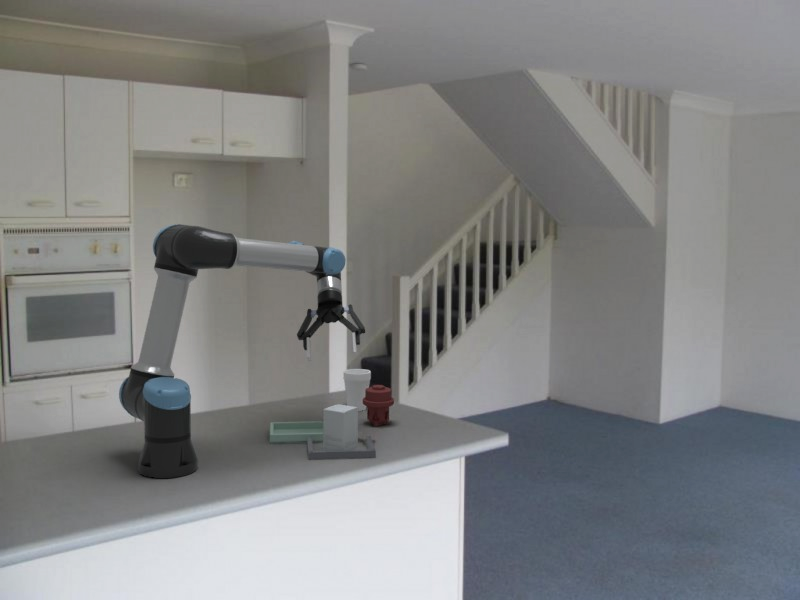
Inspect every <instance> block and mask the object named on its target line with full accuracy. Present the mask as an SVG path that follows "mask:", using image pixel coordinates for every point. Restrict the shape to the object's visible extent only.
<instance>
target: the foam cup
mask: <svg viewBox="0 0 800 600" xmlns="http://www.w3.org/2000/svg"><path fill="white" fill-rule="evenodd" d="M343 380H344V381H343V382H344V389H345V390H344V391H345V398H346V399H345V400H346V404H347V405H346V406H353V407H358V412H361V411H362V410H363V411H367V406H365V405H364V404H363V398H364V397H365V389H367V388H369V387H370V384H371V380H372V372H371V370H370V369H363V368H350V369H349V368H348V369H345V370H343Z"/></svg>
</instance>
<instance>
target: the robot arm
mask: <svg viewBox="0 0 800 600" xmlns="http://www.w3.org/2000/svg"><path fill="white" fill-rule="evenodd" d="M152 251H153V255H154V257H155V262H154V267H153V270H154V272H155V273H156V275H157V280H156V284H155V289H154V291H153V297H152V300H151V305H150V310H149V315H148V319H147V323H146V327H145V332H144V337H143V341H142V345H141V349H140V354H139V358H138V361H137V362H135V363H134V364H133V365H131V367H130V370H129V374H128V377H126V378H125V379H123V381H122V383H121V385H120V387H119V391H118V399H119V402H120V404H121V407H122V408H123V409H124V410H125V411H126V413H128V414H129V415H130V416H131V417H134V418H136V419H139V420H140V421H142V422H143V425H144V427H143V429H144V433H143V434H144V443H143V446H142V449H141V452H140V453H141V454H139V458H138V462H137V472H138V474H139V473H140V474H139V475H141V474H142V475H141V476H143V475H144V476H143V477H146V476H148V477H147V478H151V477H154V478H153V479H171V478H179V477H184V476H187V475H190V474H192V472H193V473H195V472H196V471H197V470H198V469H199V458H198V455H197V453H196V450H195V447H194V444H193V442H192V438H191V437H192V433H191V432H192V431H191V430H192V429H191V428H192V427H191V425H192V424H191V423H192V422H191V419H192V418H191V415H192V413H191V408H192V407H191V402H192V401H191V400H192V395H191V389H190V385H189V384H188V382H186V381H185V380H183V379H181V378H179V377H178V378H177V377H176V378H174V377H175V373H174V372H173V369H172V368H171V366H172V361H173V357H174V353H175V348H176V344H177V340H178V335H179V332H180V326H181V322H182V318H183V313H184V309H185V304H186V301H187V296H188V291H189V287H190V283H191V282H192V281H195V279H197V276H198V273H199V270H209V269H210V270H213V269H225V270H229V269H231V270H232V268H233V267H234V266H235V267H248V268H259V269H270V270H271V269H273V270H285V271H296V272H305V273H307V274H310V275H312V276H314V277H316V290H317V291H316V295H317V309H316V310H312V309H311V308H308V309H307V311H306V316H305V318H304V320H303V322H302V323H301V325H300V326H299V328H298V332H297V333H296V337H297V339H298V340H299V341H302V342H303V343H302V345H303V350H304V351H306V358H307V360H308V362H311V361H312V341H311V338H312V337H313V335H314V334H315V333H316V332H317V331H318V329H320V327H321V326H323V325H324V324H331V323H333V324H334V323H337V322H339V323H340V324H343V326H345V327H346V328H347V329H348V330H349V331H350V332H351V333H352V348H353V349H352V351H353V352H352V353H353V356H354V357H358V347H357V346H359V345H360V344H361V335H362V334H365V333H366V332H367V331H366V328H365V326H364V324H363V323H362V321H361V320H360V318H359V317H358V315H357V314H356V313H355V311H354V306H353V304H352V303H351V304H348V306H344V305H343V295H342V294H343V291H342V290H343V288H342V271H343V270H344V268H345V266H346V255H345V254H344V252H343V251H342V250H341V249H339V248H335V247H324V246H317V245H316V246H314V245H306V244H304V243H303V242H298V241H297V240H292V241H290V242H289V243H288V242H280V241H279V242H277V241H269V240H262V239H261V240H260V239H252V238H244V237H242V238H241V237H237V236H236V235H235V234H234V233H231V232H225V231H224V232H223V231H219V230H214V229H210V228H207V227H204V226H199V225H198V226H197V225H189V224H187V225H186V224H181V223H177V224H175V223H174V224H172V225H171V224H170V225H168V226H165V227H164V228H162V229H160V231H158V232H157V234H156V236H155V237H154V239H153V243H152ZM344 313H347V314H348V315H350V318H351V319H352V320H353V322H354V323H355V325H356V326H355V325H354V324H353V323H352V322H351V321H350V320H348V319H347V318H346V317H345V316H344ZM315 316H317V317H316V319H315V320H314V322H313V323H312V319H314V317H315ZM311 323H312V324H311ZM309 326H310V327H309Z"/></svg>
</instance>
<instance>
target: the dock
mask: <svg viewBox="0 0 800 600" xmlns="http://www.w3.org/2000/svg"><path fill="white" fill-rule="evenodd" d="M365 444H366V447H367V449H358V450H337V451H323V450H314V448H313V443H312V438H307V443H306V445H307V446H306V447H307V454H308V460H309V459H314V460H338V459H339V458H349V459H370V458H369V457H376V453H377V451H376V448H375V445H374V442H373V441H372V438H371V436H370V435H366V436H365ZM363 457H365V458H363ZM339 460H340V459H339Z"/></svg>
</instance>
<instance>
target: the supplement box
mask: <svg viewBox="0 0 800 600" xmlns="http://www.w3.org/2000/svg"><path fill="white" fill-rule="evenodd" d="M322 412H323V413H322V417H323V442H322V444H323V445H322V446H323V448H322V449H323V450H322V451H337V450H359V445H358V444H359V411H358V407H353V406H347V405H345V404H341V403H338V404H334V405H332V406H329V407H326V408H323V409H322Z"/></svg>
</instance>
